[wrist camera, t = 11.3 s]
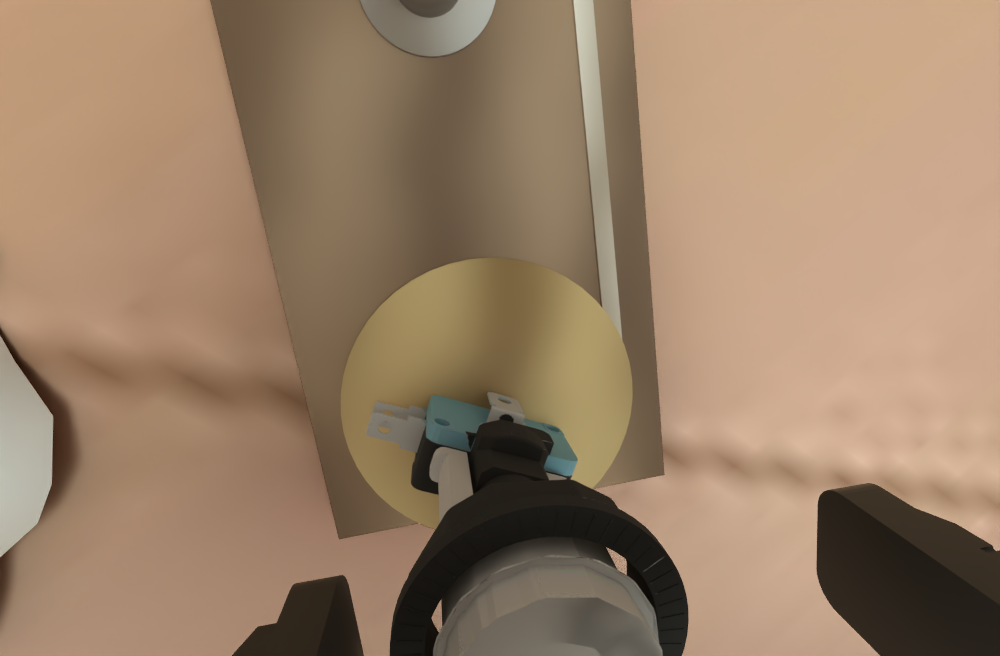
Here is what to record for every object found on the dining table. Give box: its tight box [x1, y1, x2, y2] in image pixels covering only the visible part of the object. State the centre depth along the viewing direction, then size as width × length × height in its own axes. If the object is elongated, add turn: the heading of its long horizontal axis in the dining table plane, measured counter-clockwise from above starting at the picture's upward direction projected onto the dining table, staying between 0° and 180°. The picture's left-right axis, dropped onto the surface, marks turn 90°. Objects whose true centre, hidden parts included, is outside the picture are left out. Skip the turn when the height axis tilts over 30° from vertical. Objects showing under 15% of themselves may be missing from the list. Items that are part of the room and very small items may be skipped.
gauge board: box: [210, 0, 664, 539], centre depth 13 cm, size 12×21×10 cm, turn 8°
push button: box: [366, 392, 688, 656], centre depth 13 cm, size 7×5×10 cm
